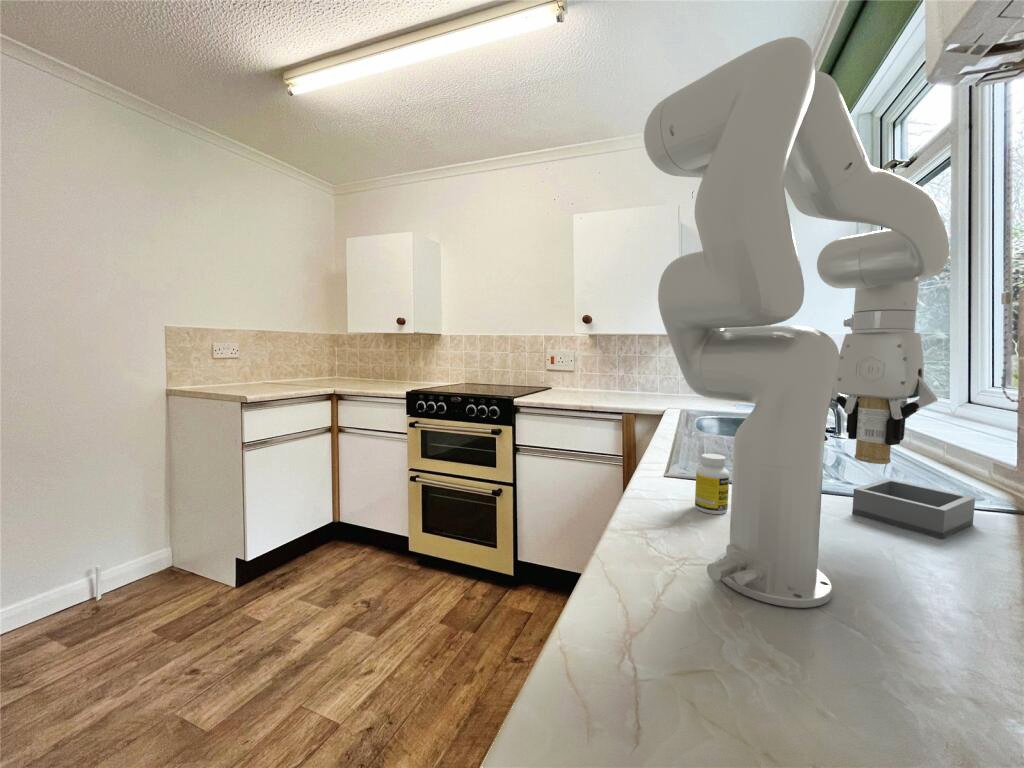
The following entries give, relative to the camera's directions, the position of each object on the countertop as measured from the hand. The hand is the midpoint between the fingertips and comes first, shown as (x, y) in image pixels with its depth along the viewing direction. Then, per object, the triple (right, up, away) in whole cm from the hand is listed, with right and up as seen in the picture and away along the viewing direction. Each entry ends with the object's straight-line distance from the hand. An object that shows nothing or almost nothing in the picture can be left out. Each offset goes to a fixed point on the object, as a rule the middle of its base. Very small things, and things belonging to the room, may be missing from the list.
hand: (873, 440), depth 71 cm
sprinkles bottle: (0, -4, 0) cm, 4 cm away
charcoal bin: (+11, -14, +5) cm, 18 cm away
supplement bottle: (-21, -14, +10) cm, 27 cm away
